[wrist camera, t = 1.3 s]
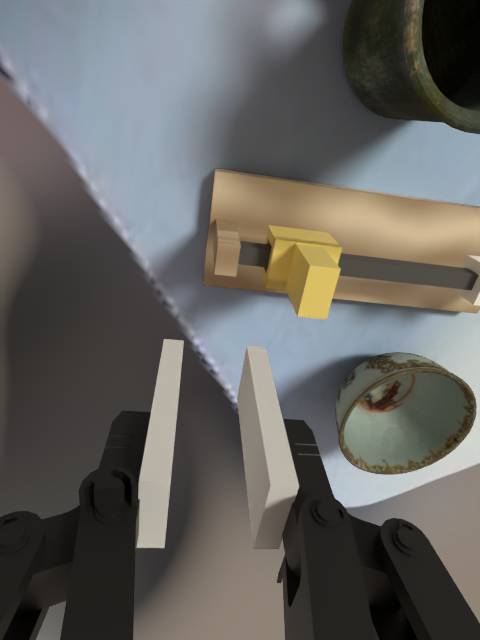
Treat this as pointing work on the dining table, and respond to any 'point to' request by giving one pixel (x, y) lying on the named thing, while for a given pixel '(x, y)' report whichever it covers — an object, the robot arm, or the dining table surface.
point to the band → (476, 295)
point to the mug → (416, 59)
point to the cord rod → (377, 268)
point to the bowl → (402, 413)
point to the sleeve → (303, 268)
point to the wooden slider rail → (340, 234)
